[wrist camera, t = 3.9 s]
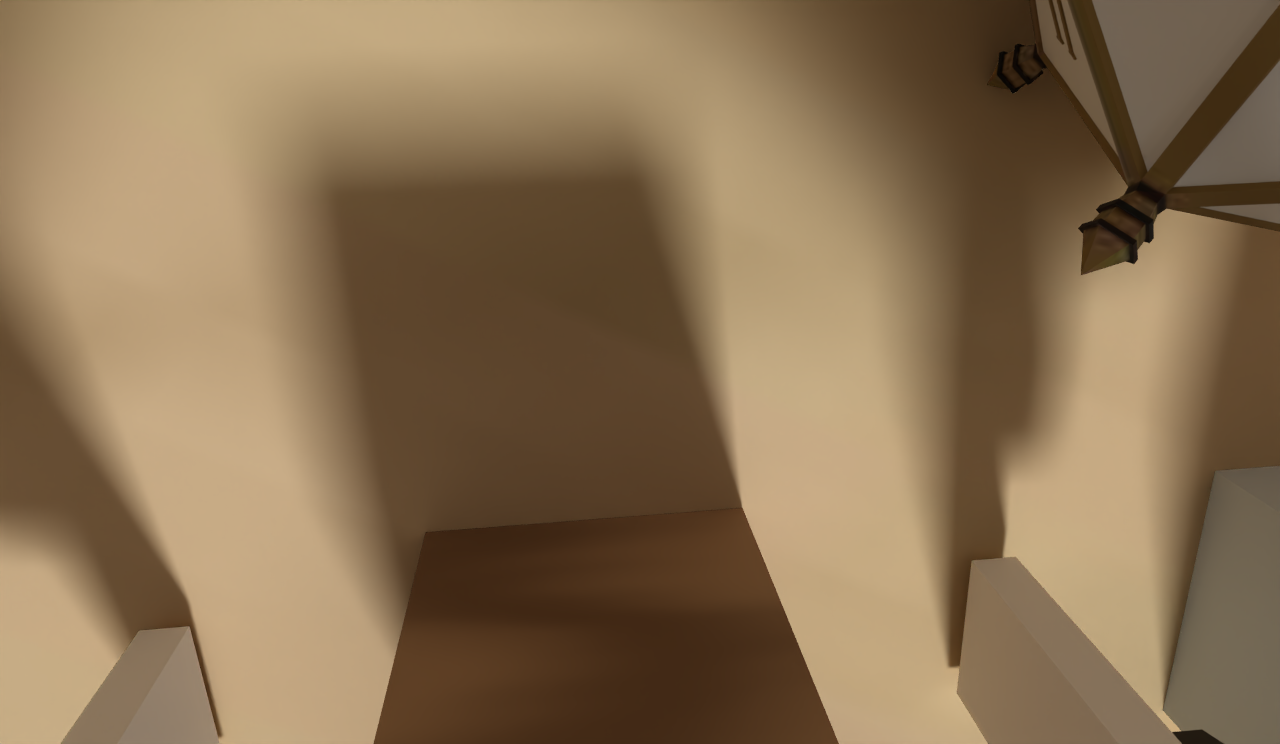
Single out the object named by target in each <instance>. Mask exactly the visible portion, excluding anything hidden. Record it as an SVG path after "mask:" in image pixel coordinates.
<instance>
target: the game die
mask: <svg viewBox="0 0 1280 744" xmlns="http://www.w3.org/2000/svg"><path fill="white" fill-rule="evenodd" d="M1029 4H1030V10H1031V16H1032V22H1033V28H1034V34H1035V40H1036V44H1035V45H1030V46H1024V45H1021V44H1017V45H1015V47H1014V50H1013V51H1011V52H1009V53H1007V52H1004V51H1002V52H1000V53H999V60H998V64H997V66H996V68H995V70H994V72H993V74H992V76H991V78H990V80H989V82H988V84H987V85H990V86H996V87H1001V88H1006V89H1009V90H1010V91H1011V92H1012V93H1015V92H1017V91H1018V90H1019V89H1020V88H1021V87H1023V86H1024V85H1025V84H1027V85H1029V84H1031V83H1032V82H1033V81H1034V80H1036V79H1037V78H1038V77H1039V76H1040V75H1041V74H1043V70H1042V69H1044V68H1048V69H1049V71H1050V72H1051V74H1052V75H1053V77H1054V78H1055V80H1056V81H1057V83H1058V84H1059V86H1060V87H1061V89H1062V90H1063V92H1064V93H1065V94H1066V96H1067V97H1068V99H1069V100H1070V102H1071V103H1072V105H1073V106H1074V108H1075V109H1076V111H1077V112H1078V114H1079V115H1080V116H1081V118H1082V119H1083V121H1084V122H1085V124H1086V125H1087V127H1088V128H1089V130H1090V131H1091V133H1092V134H1093V136H1094V137H1095V138H1096V140H1097V141H1098V143H1099V144H1100V146H1101V147H1102V149H1103V150H1104V152H1105V153H1106V155H1107V156H1108V158H1109V159H1110V161H1111V162H1112V163H1113V165H1114V166H1115V168H1116V169H1117V171H1118V172H1119V174H1120V175H1121V177H1122V178H1123V180H1124V181H1125V183H1126V184H1127V185H1128V189H1127V191H1126V192H1125V194H1124V195H1123V196H1122V197H1120V198H1119V199H1116V200H1113V201H1110V202H1107V203H1105V204H1102V205H1100V206H1099V207H1098V208H1097V209H1096V210H1097V211H1098V212H1099V213H1100V214H1099V215H1098V216H1097V217H1096V218H1095V219H1094V220H1093V221H1090V222H1087V223H1084V224H1082V225H1081V226H1080V227H1079V228H1078V229H1079V230H1080V231H1081V232H1082V233H1083V250H1082V265H1081V275H1083V274H1087V273H1090V272H1093V271H1096V270H1099V269H1103V268H1106V267H1109V266H1112V265H1115V264H1119V263H1122V262H1125V261H1126V262H1129V263H1132V264H1135V262H1136V261H1137V260H1138V255H1137V250H1138V249H1139V247H1140V246H1141V245H1142V243H1143V242H1148V243H1150V242H1151V241H1152V239H1153V238H1154V235H1153V224H1154V221H1155V219H1156V217H1157V215H1158V214H1159V213H1161V212H1162V211H1164V210H1165V209H1166V208H1167V209H1172V210H1177V211H1182V212H1187V213H1192V214H1196V215H1201V216H1206V217H1211V218H1216V219H1221V220H1226V221H1231V222H1236V223H1241V224H1246V225H1251V226H1256V227H1261V228H1265V229H1270V230H1275V231H1280V0H1029Z"/></svg>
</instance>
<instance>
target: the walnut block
mask: <svg viewBox="0 0 1280 744" xmlns="http://www.w3.org/2000/svg"><path fill="white" fill-rule="evenodd" d="M374 744H839V743H838V741H837V738H836V736H835V733H834V731H833V728H832V726H831V724H830V721H829V719H828V716H827V714H826V711H825V709H824V706H823V704H822V702H821V699H820V697H819V694H818V692H817V689H816V687H815V684H814V682H813V680H812V677H811V675H810V672H809V670H808V667H807V665H806V662H805V660H804V658H803V655H802V653H801V650H800V648H799V645H798V643H797V640H796V638H795V636H794V633H793V631H792V628H791V626H790V623H789V621H788V618H787V616H786V614H785V611H784V609H783V606H782V604H781V601H780V599H779V596H778V594H777V592H776V589H775V587H774V584H773V582H772V579H771V577H770V574H769V572H768V570H767V567H766V565H765V562H764V560H763V557H762V555H761V552H760V550H759V548H758V545H757V543H756V540H755V538H754V535H753V533H752V530H751V528H750V526H749V523H748V521H747V518H746V516H745V513H744V511H743V508H735V509H722V510H709V511H696V512H683V513H670V514H657V515H644V516H631V517H618V518H605V519H592V520H579V521H566V522H553V523H540V524H527V525H515V526H502V527H489V528H476V529H463V530H450V531H437V532H426V533H425V537H424V542H423V546H422V550H421V554H420V558H419V562H418V566H417V570H416V574H415V578H414V582H413V586H412V590H411V594H410V598H409V602H408V606H407V610H406V615H405V619H404V623H403V627H402V631H401V635H400V639H399V643H398V647H397V651H396V655H395V659H394V663H393V667H392V671H391V675H390V679H389V683H388V687H387V692H386V696H385V700H384V704H383V708H382V712H381V716H380V720H379V724H378V728H377V732H376V736H375V740H374Z"/></svg>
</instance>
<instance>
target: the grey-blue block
mask: <svg viewBox="0 0 1280 744" xmlns="http://www.w3.org/2000/svg"><path fill="white" fill-rule="evenodd" d="M1163 711H1164V712H1165V713H1166V714H1167V715H1168V716H1169V718H1170V719H1171V720H1172V721H1173V722H1174V723H1175V724H1176V725H1177V726H1178V727H1179V729H1180V730H1181V731H1189V730H1199V729H1202V730H1204V731H1205V732H1207V733H1208V734H1210V735H1211V736H1213V737H1215V738H1216V739H1218V740H1219V741H1221V742H1222V743H1224V744H1280V466H1270V467H1257V468H1244V469H1231V470H1218V471H1215V474H1214V479H1213V483H1212V488H1211V492H1210V497H1209V502H1208V506H1207V511H1206V515H1205V520H1204V524H1203V529H1202V534H1201V538H1200V543H1199V547H1198V552H1197V556H1196V561H1195V566H1194V570H1193V575H1192V579H1191V584H1190V589H1189V593H1188V598H1187V602H1186V607H1185V611H1184V616H1183V621H1182V625H1181V630H1180V634H1179V639H1178V643H1177V648H1176V653H1175V657H1174V662H1173V666H1172V671H1171V676H1170V680H1169V685H1168V689H1167V694H1166V698H1165V703H1164V708H1163Z"/></svg>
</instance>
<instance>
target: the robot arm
mask: <svg viewBox="0 0 1280 744" xmlns="http://www.w3.org/2000/svg"><path fill="white" fill-rule="evenodd" d="M957 694H958V696H959V697H960V699H961V700H962V702H963V704H964V705H965V707H966V708H967V710H968V712H969V713H970V715H971V717H972V718H973V720H974V721H975V723H976V725H977V726H978V728H979V730H980V731H981V733H982V734H983V736H984V738H985V739H986V741H987V743H988V744H1224V743H1222V742H1221V741H1219V740H1218V739H1216V738H1215V737H1213V736H1211V735H1210V734H1208V733H1207V732H1205V731H1204V730H1202V729H1199V730H1189V731H1179V732H1171V731H1170V730H1169V729H1168V727H1167V726H1166V725H1165V724H1164V723H1163V722H1162V721H1161V720H1160V718H1159V717H1158V716H1157V715H1156V714H1155V713H1154V712H1153V711H1152V709H1151V708H1150V707H1149V706H1148V705H1147V704H1146V703H1145V702H1144V700H1143V699H1142V698H1141V697H1140V696H1139V695H1138V694H1137V693H1136V692H1135V690H1134V689H1133V688H1132V687H1131V686H1130V685H1129V684H1128V683H1127V681H1126V680H1125V679H1124V678H1123V677H1122V676H1121V675H1120V674H1119V672H1118V671H1117V670H1116V669H1115V668H1114V667H1113V666H1112V665H1111V663H1110V662H1109V661H1108V660H1107V659H1106V658H1105V657H1104V656H1103V654H1102V653H1101V652H1100V651H1099V650H1098V649H1097V648H1096V647H1095V645H1094V644H1093V643H1092V642H1091V641H1090V640H1089V639H1088V638H1087V636H1086V635H1085V634H1084V633H1083V632H1082V631H1081V630H1080V629H1079V628H1078V626H1077V625H1076V624H1075V623H1074V622H1073V621H1072V620H1071V619H1070V617H1069V616H1068V615H1067V614H1066V613H1065V612H1064V611H1063V610H1062V608H1061V607H1060V606H1059V605H1058V604H1057V603H1056V602H1055V601H1054V599H1053V598H1052V597H1051V596H1050V595H1049V594H1048V593H1047V592H1046V590H1045V589H1044V588H1043V587H1042V586H1041V585H1040V584H1039V583H1038V581H1037V580H1036V579H1035V578H1034V577H1033V576H1032V575H1031V574H1030V572H1029V571H1028V570H1027V569H1026V568H1025V567H1024V566H1023V565H1022V563H1021V562H1020V561H1019V560H1018V559H1017V558H1016V557H1007V558H995V559H984V560H972V562H971V571H970V580H969V588H968V597H967V606H966V615H965V624H964V633H963V642H962V651H961V659H960V668H959V677H958V686H957ZM61 744H220V743H219V739H218V735H217V731H216V727H215V724H214V720H213V716H212V712H211V708H210V704H209V700H208V696H207V692H206V689H205V685H204V681H203V677H202V673H201V669H200V665H199V661H198V658H197V654H196V650H195V646H194V642H193V638H192V634H191V630H190V627H189V626H186V627H175V628H163V629H151V630H139V631H138V633H137V634H136V636H135V637H134V639H133V640H132V641H131V643H130V644H129V646H128V647H127V649H126V650H125V652H124V653H123V654H122V656H121V657H120V659H119V660H118V662H117V663H116V664H115V666H114V667H113V669H112V670H111V672H110V673H109V675H108V676H107V677H106V679H105V680H104V682H103V683H102V685H101V686H100V688H99V689H98V690H97V692H96V693H95V695H94V696H93V698H92V699H91V701H90V702H89V703H88V705H87V706H86V708H85V709H84V711H83V712H82V714H81V715H80V716H79V718H78V719H77V721H76V722H75V724H74V725H73V727H72V728H71V729H70V731H69V732H68V734H67V735H66V737H65V738H64V740H63V741H62V742H61Z"/></svg>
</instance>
